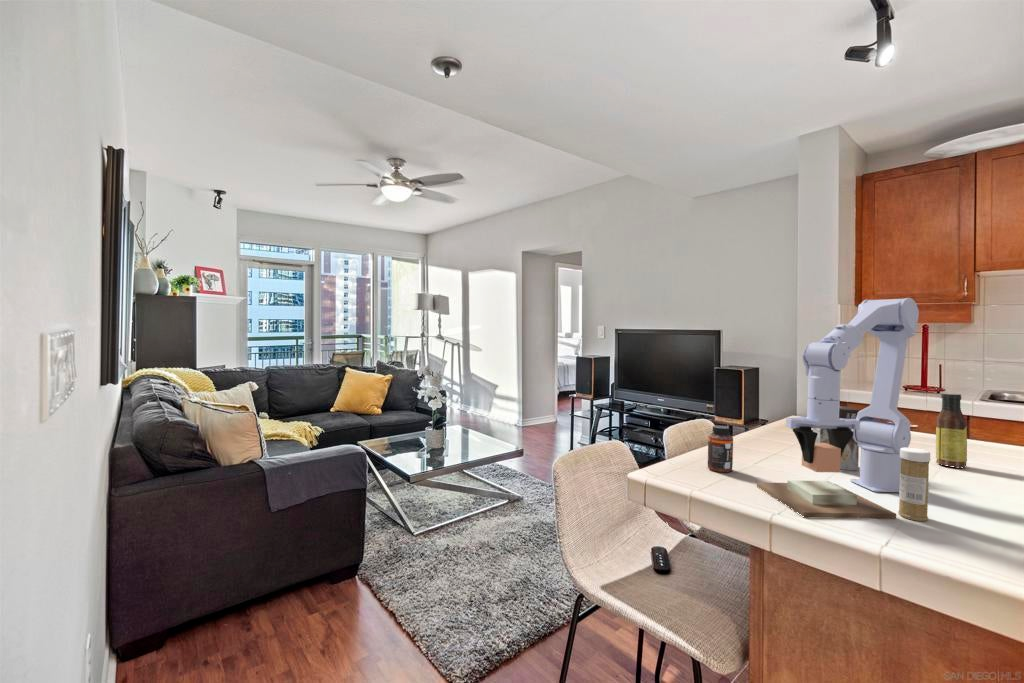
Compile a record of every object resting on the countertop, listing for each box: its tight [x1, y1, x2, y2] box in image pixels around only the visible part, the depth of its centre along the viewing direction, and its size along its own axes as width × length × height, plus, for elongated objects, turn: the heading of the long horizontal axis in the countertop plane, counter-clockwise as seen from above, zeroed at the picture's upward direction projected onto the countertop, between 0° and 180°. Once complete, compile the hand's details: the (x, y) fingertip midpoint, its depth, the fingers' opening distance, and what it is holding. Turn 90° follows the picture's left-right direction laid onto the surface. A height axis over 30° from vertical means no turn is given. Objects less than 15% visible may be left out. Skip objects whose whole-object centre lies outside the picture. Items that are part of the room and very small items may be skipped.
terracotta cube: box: [801, 443, 841, 473], centre depth 102 cm, size 5×5×5 cm
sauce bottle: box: [935, 392, 968, 468], centre depth 130 cm, size 7×6×20 cm
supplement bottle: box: [707, 424, 734, 473], centre depth 124 cm, size 6×6×11 cm
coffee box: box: [812, 405, 860, 471], centre depth 129 cm, size 9×6×16 cm
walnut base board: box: [756, 479, 897, 520], centre depth 102 cm, size 18×18×3 cm
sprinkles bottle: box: [897, 446, 931, 522], centre depth 94 cm, size 5×5×14 cm
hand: (821, 462), depth 102 cm, fingers closed on terracotta cube, 5 cm apart
